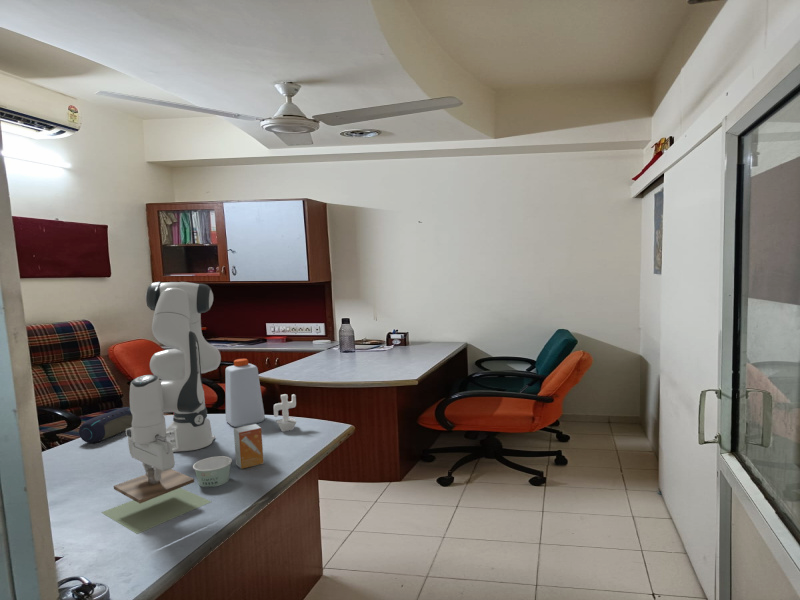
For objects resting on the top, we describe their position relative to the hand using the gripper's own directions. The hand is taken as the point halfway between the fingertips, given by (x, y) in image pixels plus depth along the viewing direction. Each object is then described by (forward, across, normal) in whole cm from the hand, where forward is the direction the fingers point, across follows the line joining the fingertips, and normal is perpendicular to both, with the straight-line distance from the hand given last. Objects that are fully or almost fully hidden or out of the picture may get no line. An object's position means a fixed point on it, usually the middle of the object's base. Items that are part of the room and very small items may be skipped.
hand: (153, 477), depth 156 cm
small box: (+10, +5, -36) cm, 37 cm away
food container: (+10, +2, -20) cm, 22 cm away
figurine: (+10, +24, -68) cm, 73 cm away
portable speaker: (+11, +86, -23) cm, 90 cm away
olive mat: (+9, -1, 0) cm, 9 cm away
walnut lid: (+2, 0, 0) cm, 2 cm away
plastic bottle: (+10, +50, -66) cm, 83 cm away
